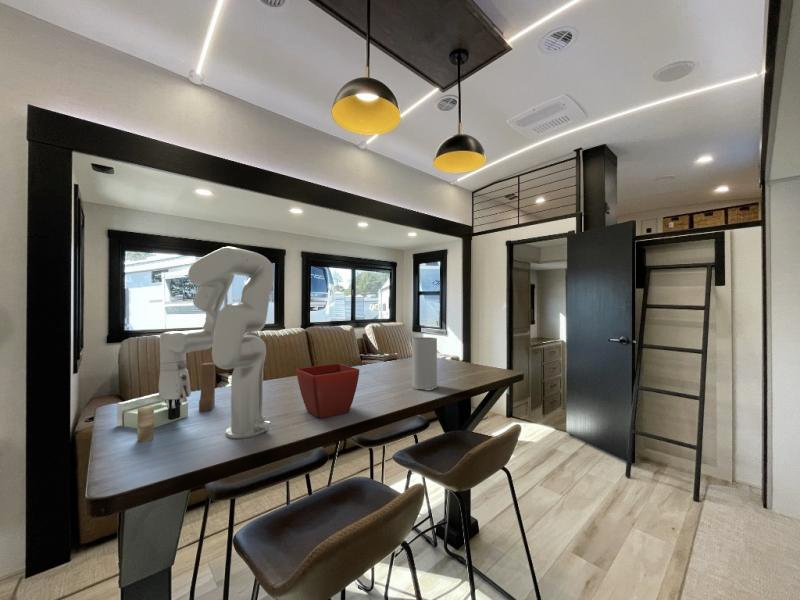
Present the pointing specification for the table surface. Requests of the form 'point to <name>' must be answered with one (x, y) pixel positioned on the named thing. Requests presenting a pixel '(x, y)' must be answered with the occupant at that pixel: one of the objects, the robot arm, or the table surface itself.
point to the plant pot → (328, 388)
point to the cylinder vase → (424, 362)
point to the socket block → (159, 415)
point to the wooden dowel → (145, 424)
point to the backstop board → (134, 406)
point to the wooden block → (207, 387)
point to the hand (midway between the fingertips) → (174, 418)
